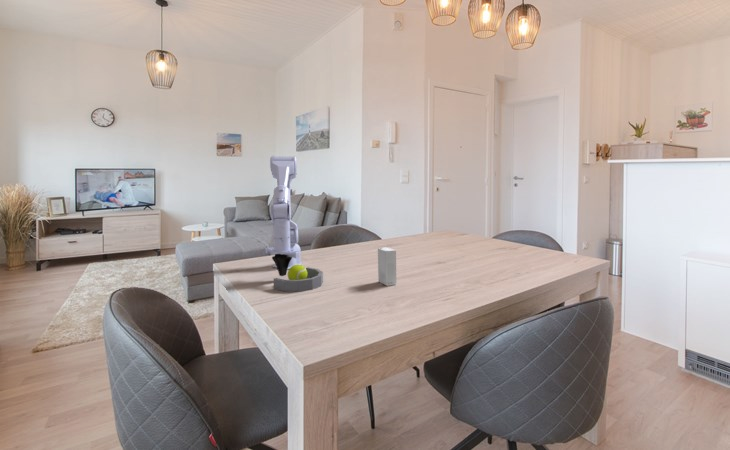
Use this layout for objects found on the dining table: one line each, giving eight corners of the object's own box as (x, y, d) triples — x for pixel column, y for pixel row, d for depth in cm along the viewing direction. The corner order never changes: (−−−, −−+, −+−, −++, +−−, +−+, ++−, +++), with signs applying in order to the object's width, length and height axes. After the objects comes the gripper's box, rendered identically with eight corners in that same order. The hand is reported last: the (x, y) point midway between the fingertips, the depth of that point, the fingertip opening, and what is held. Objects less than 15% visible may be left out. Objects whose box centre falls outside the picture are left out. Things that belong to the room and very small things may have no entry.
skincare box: (396, 284, 128) (397, 250, 126) (385, 286, 126) (386, 251, 124) (388, 280, 133) (388, 246, 132) (377, 281, 131) (377, 247, 130)
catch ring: (308, 276, 137) (308, 267, 137) (332, 281, 131) (332, 271, 131) (273, 289, 122) (273, 278, 122) (299, 294, 117) (299, 284, 116)
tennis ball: (300, 279, 133) (300, 261, 132) (311, 284, 128) (311, 265, 127) (284, 283, 128) (283, 264, 128) (294, 288, 124) (294, 268, 123)
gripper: (258, 237, 130) (259, 274, 132) (289, 241, 123) (290, 281, 125) (272, 234, 136) (274, 270, 138) (303, 238, 129) (304, 276, 131)
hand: (282, 275), depth 132 cm, fingers closed
